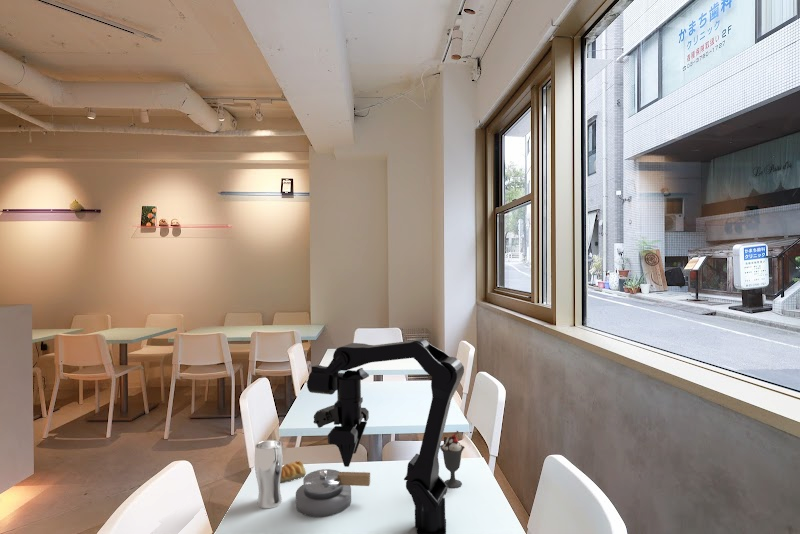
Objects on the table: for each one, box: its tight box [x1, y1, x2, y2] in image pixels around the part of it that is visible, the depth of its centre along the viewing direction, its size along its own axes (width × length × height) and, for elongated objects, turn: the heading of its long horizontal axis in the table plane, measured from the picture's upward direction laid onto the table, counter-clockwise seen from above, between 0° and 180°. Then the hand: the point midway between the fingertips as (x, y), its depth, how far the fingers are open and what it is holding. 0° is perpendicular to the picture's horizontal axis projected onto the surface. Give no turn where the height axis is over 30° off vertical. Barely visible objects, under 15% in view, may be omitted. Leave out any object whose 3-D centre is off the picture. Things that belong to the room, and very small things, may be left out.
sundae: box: [439, 430, 465, 489], centre depth 128 cm, size 7×7×15 cm
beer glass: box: [254, 439, 284, 510], centre depth 120 cm, size 7×7×15 cm
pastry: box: [280, 460, 307, 483], centre depth 135 cm, size 9×7×4 cm
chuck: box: [302, 468, 371, 499], centre depth 119 cm, size 17×10×5 cm, turn 84°
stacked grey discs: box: [295, 484, 352, 518], centre depth 120 cm, size 14×14×3 cm
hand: (350, 459), depth 114 cm, fingers open, 7 cm apart
